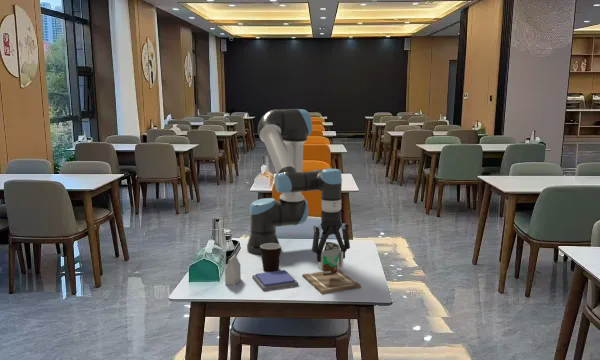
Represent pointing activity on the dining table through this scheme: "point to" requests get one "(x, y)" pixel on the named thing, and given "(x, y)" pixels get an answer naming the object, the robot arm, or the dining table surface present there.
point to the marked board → (331, 281)
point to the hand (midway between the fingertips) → (330, 268)
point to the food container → (330, 258)
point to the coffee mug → (270, 256)
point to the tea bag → (232, 271)
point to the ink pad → (274, 280)
